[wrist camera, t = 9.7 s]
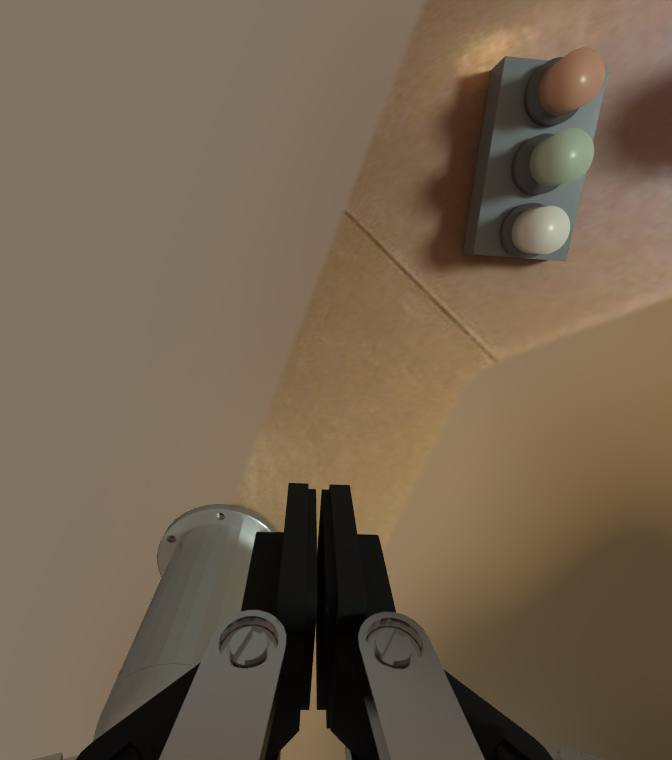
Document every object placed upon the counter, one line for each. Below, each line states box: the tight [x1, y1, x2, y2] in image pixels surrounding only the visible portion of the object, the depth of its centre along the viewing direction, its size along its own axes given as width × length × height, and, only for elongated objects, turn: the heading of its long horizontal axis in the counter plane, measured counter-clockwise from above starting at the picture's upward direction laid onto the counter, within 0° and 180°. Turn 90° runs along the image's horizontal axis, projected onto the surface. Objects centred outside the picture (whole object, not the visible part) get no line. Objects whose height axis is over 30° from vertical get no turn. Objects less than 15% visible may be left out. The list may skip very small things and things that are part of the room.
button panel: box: [463, 56, 610, 261], centre depth 33 cm, size 13×8×3 cm, turn 176°
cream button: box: [512, 206, 570, 254], centre depth 31 cm, size 3×3×2 cm
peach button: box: [538, 48, 605, 116], centre depth 28 cm, size 3×3×2 cm
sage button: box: [530, 128, 594, 186], centre depth 29 cm, size 3×3×2 cm
